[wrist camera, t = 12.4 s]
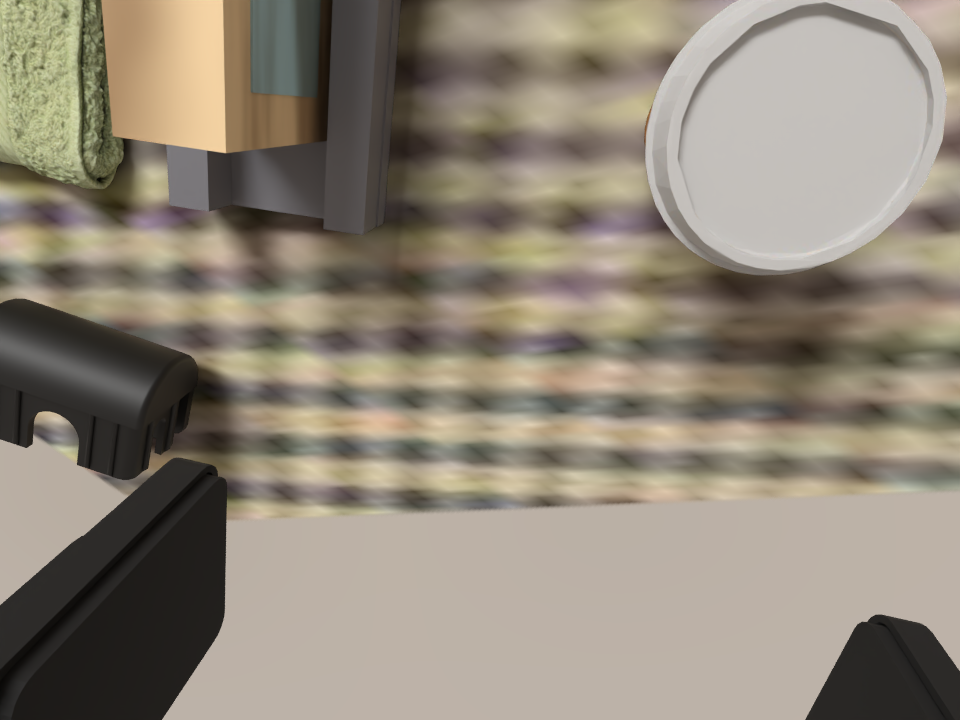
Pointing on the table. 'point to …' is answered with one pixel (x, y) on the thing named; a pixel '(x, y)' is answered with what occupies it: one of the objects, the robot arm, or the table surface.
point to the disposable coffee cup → (794, 131)
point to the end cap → (91, 386)
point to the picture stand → (320, 165)
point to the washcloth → (57, 91)
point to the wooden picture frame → (219, 71)
